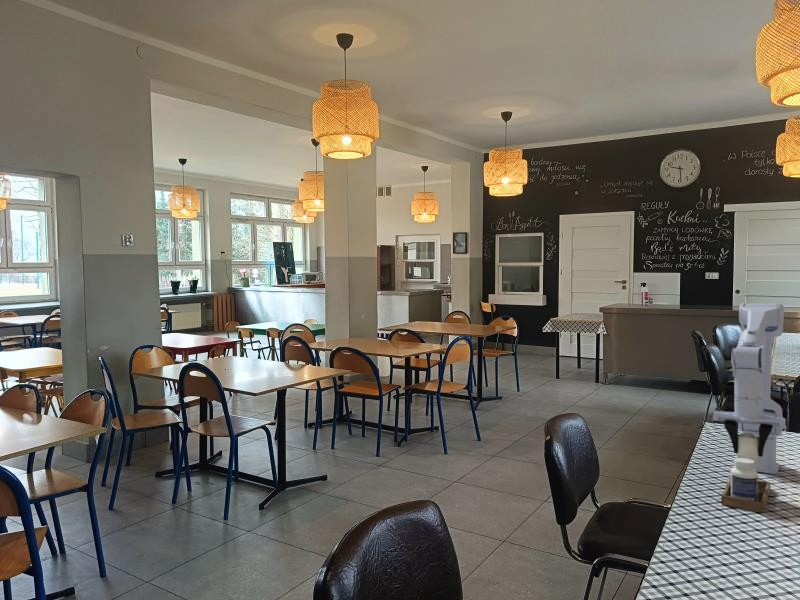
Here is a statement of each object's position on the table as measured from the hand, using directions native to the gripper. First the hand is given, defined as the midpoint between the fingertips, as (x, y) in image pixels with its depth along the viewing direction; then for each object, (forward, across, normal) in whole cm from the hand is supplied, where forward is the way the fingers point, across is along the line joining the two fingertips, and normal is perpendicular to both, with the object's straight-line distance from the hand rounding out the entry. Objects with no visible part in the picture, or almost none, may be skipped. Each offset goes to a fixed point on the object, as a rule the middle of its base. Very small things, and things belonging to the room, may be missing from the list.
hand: (748, 453), depth 139 cm
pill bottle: (+10, 0, -8) cm, 12 cm away
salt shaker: (+2, 0, 0) cm, 2 cm away
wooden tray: (+9, 0, -4) cm, 10 cm away
